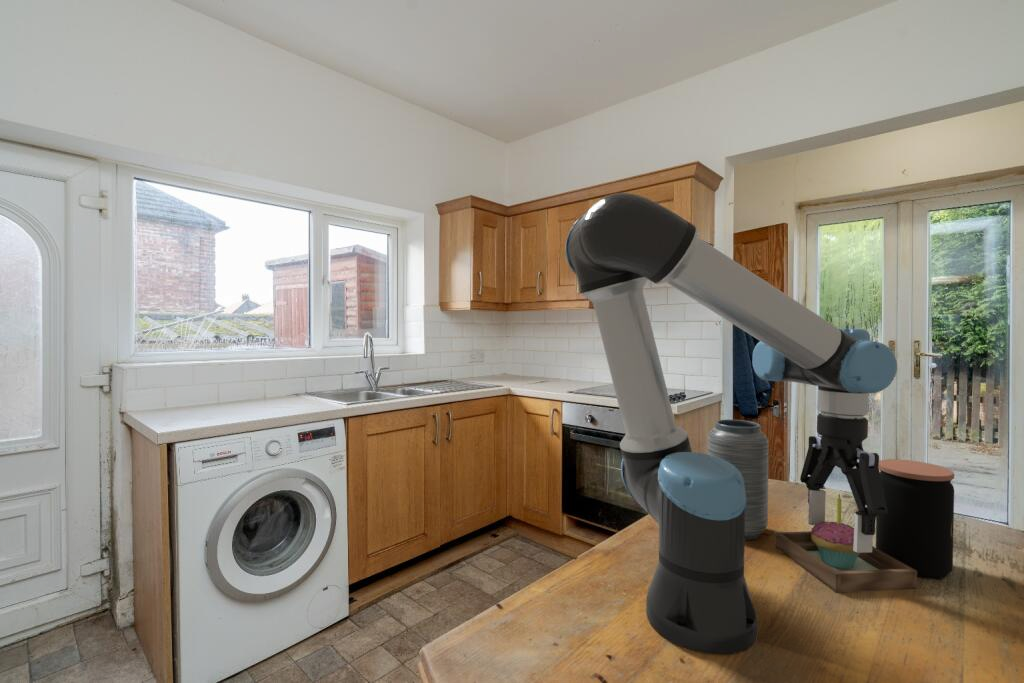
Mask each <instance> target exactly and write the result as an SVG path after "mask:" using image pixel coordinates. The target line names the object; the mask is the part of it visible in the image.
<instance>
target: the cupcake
mask: <svg viewBox="0 0 1024 683" xmlns="http://www.w3.org/2000/svg"><path fill="white" fill-rule="evenodd" d="M810 531H811V539H812V541H813V542H814V543H815V544H816V546H817V547H818V549H819V552H820V555H821V558H822V561H823V562H824V563H826V564H828V565H830V566H832V567H836V568H840V569H850V568H853V566H854V564H855V561H856V559H857V557H858V555H859V553H857V552H855V551H853V546H854V526H852V525H849V524H845V523H843V522H842V498H841V494H839V493H838V498H836V521H826V520H825V522H821V523H818V525H813V527H811V530H810ZM861 553H863V552H861Z"/></svg>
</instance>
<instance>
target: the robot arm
mask: <svg viewBox="0 0 1024 683" xmlns="http://www.w3.org/2000/svg"><path fill="white" fill-rule="evenodd" d="M564 246H565V248H564V249H565V250H564V251H565V252H564V254H565V259H566V261H567V264H568V266H569V269H571V271H572V272H573V273H574V274H575V275H576V278H577V281H578V285H579V290H580V294H581V296H582V297H584V298H585V299H586V300H589V301H590V302H591V303H592V306H593V308H594V309H593V310H594V313H595V317H596V320H597V325H598V329H599V333H600V338H601V340H602V345H603V349H604V353H605V356H606V361H607V364H608V370H609V372H610V377H611V380H612V384H613V389H614V392H615V396H616V400H617V404H618V408H619V411H620V416H621V420H622V424H623V428H624V433H625V435H624V436H623V438H622V439H621V441H620V442H619V448H620V452H621V453H620V454H621V456H622V459H621V464H620V475H621V479H622V483H623V484H624V487H625V490H626V492H627V493H628V494H629V496H630V497H631V498H632V499H633V501H635V502H636V503H637V504H638V505H640V507H642V509H643V510H644V511H645V512H646V513H647V514H648V515H650V517H651V518H652V519H653V520H654V521H655V522H656V523H657V524H658V564H657V566H656V568H655V570H654V571H655V572H654V574H653V576H652V580H651V581H650V582H651V583H650V586H649V587H648V590H647V594H646V598H645V599H646V606H645V608H646V609H645V610H646V612H645V613H646V617H647V620H648V622H649V624H650V625H651V626H652V628H653V629H655V631H656V632H657V633H659V634H660V635H661V636H663V637H664V638H665V639H667V640H668V641H670V642H672V643H673V644H676V645H678V646H680V647H683V648H686V649H687V650H692V651H695V652H700V653H703V654H711V655H733V654H737V653H741V652H744V651H747V650H749V649H750V648H752V646H754V645H755V644H756V642H757V639H758V622H759V621H758V614H757V612H756V609H755V606H754V602H753V599H752V597H751V593H750V590H749V588H748V585H747V581H746V579H745V541H746V540H745V506H746V493H745V487H744V479H743V476H742V474H741V473H740V471H739V470H738V469H737V468H736V467H735V466H734V465H732V464H731V463H729V462H727V461H725V460H723V459H721V458H718V457H711V456H710V455H708V453H707V454H706V453H703V452H702V453H701V452H696V451H695V452H694V451H693V450H692V446H691V443H690V438H689V434H688V432H687V431H686V430H685V429H683V428H682V427H680V426H679V425H677V424H676V420H675V417H674V413H673V408H672V405H671V401H670V397H669V393H668V388H667V386H666V385H667V384H666V381H665V380H666V379H665V375H664V372H663V368H662V364H661V360H660V355H659V352H658V349H657V344H656V340H655V337H654V331H653V328H652V325H651V324H652V323H651V320H650V315H649V311H648V307H647V303H646V299H645V295H644V291H643V290H644V287H645V285H646V283H647V282H648V280H649V281H651V282H652V283H654V284H655V285H659V284H663V283H667V284H669V285H670V286H671V287H673V288H674V289H676V290H678V291H680V292H681V293H683V294H684V295H686V296H688V297H689V298H691V299H692V300H695V302H697V303H699V304H700V305H702V306H704V307H705V308H707V309H709V310H710V311H712V312H713V313H715V314H716V315H718V316H719V317H722V319H725V320H726V321H727V322H729V323H730V324H732V325H734V326H735V327H737V328H739V329H740V330H742V331H743V332H745V333H747V334H748V335H750V336H751V337H753V338H754V339H756V340H757V341H758V342H757V343H756V345H755V346H754V349H753V351H752V367H753V368H752V369H753V370H754V373H755V374H756V376H757V377H758V378H759V379H761V380H763V381H768V382H769V381H770V382H776V383H780V382H792V383H798V384H803V385H804V384H805V385H810V386H816V387H817V401H816V402H817V404H816V410H818V411H819V412H820V413H819V414H818V415H816V433H817V434H818V436H817V435H816V436H815V435H811V436H808V447H807V448H808V449H807V452H806V455H805V459H804V462H803V467H802V470H801V474H800V476H799V477H800V478H799V480H800V482H801V483H802V484H803V483H804V484H805V485H806V488H807V489H808V493H807V494H808V495H807V496H808V497H807V498H808V499H807V503H808V523H807V524H808V525H810V526H815V525H818V523H821V522H825V521H826V520H825V519H826V497H827V496H826V493H827V492H826V490H825V489H826V487H825V484H826V482H827V481H828V479H829V478H830V476H831V474H832V473H833V471H834V468H835V467H837V468H839V469H840V471H841V473H842V474H843V475H845V477H846V481H847V482H848V485H849V488H850V490H851V493H852V496H853V499H854V501H855V504H856V506H857V511H855V512H854V520H853V522H854V523H853V528H854V546H853V551H855V552H857V553H861V552H872V546H873V537H874V535H876V516H877V515H887V514H888V510H887V506H886V501H885V496H884V491H883V487H882V482H881V477H880V470H879V468H878V467H879V461H880V456H879V454H878V453H877V452H869V451H865V450H864V447H863V441H864V440H866V439H868V436H869V435H868V434H869V420H868V419H867V417H865V416H867V415H868V414H869V394H876V393H879V392H880V393H881V392H882V391H884V390H885V389H887V388H888V387H889V386H890V385H891V384H892V382H893V381H894V379H895V377H896V375H897V371H898V362H897V357H896V356H895V354H894V352H893V350H892V349H891V348H890V347H889V346H888V345H886V344H884V343H882V342H879V341H872V340H871V334H870V332H869V331H868V330H866V329H864V328H838V327H837V326H835V325H834V324H832V323H831V322H829V321H828V320H826V319H824V318H823V317H821V316H820V315H819V314H817V313H815V312H814V311H812V310H811V309H809V308H808V307H806V306H805V305H803V304H801V303H800V302H799V301H797V300H795V299H794V298H793V297H791V296H789V295H787V294H786V293H785V292H784V291H781V290H780V289H778V288H777V287H775V286H774V285H772V284H771V283H769V282H768V281H766V280H765V279H763V278H762V277H760V276H758V275H756V274H755V273H754V272H752V271H750V270H749V269H747V268H746V267H745V266H743V265H742V264H740V263H738V262H737V261H735V260H734V259H732V257H729V256H727V255H726V254H725V253H723V252H721V251H720V250H719V249H717V248H716V247H714V246H712V245H710V243H708V242H706V241H705V240H703V239H701V238H700V237H699V230H698V227H697V226H695V224H692V223H691V222H690V221H688V220H687V219H685V218H683V217H682V216H681V215H680V214H677V213H675V212H674V211H672V210H670V209H669V208H667V207H665V206H663V205H661V204H659V203H658V202H656V201H653V199H652V200H651V199H649V198H648V197H644V196H641V195H639V194H634V193H630V192H616V193H611V194H608V195H605V196H604V197H602V198H599V200H597V201H596V202H594V204H592V205H591V206H590V208H589V209H588V210H587V211H586V213H584V214H583V215H582V216H580V217H579V218H578V219H577V220H576V221H575V222H574V223H573V224H572V227H571V228H570V230H569V232H568V235H567V237H566V240H565V245H564Z"/></svg>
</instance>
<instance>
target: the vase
mask: <svg viewBox="0 0 1024 683" xmlns="http://www.w3.org/2000/svg"><path fill="white" fill-rule="evenodd" d="M769 444H770V443H769V438H768V436H767V435H766V434H765V432H763V431H762V427H761V424H759V423H758V422H754V421H750V420H742V419H718V420H716V421H715V422H714V427H713V428H712V429H711V430H710V431H709V432H708V434H707V455H710V456H711V457H718V458H721V459H723V460H725V461H727V462H729V463H731V464H732V465H734V466H735V467H736V468H737V469H738V470H739V471H740V473H741V474H742V476H743V479H744V487H745V493H746V506H745V540H744V541H747V540H754V539H757V538H759V537H760V534H762V533H763V532H764V531H765V530H766V529H767V526H768V524H769V523H768V522H769V521H768V520H769V519H768V518H769V450H770V449H769V448H770V447H769Z"/></svg>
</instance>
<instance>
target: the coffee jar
mask: <svg viewBox="0 0 1024 683" xmlns="http://www.w3.org/2000/svg"><path fill="white" fill-rule="evenodd" d="M878 468H879V473H880V477H881V482H882V487H883V491H884V496H885V501H886V506H887V510H888V514H887V515H877V516H876V519H875V548H877V549H878V550H880V551H882V552H884V553H886V554H887V555H889V556H891V557H893V558H895V559H896V560H898V561H900V562H902V563H904V564H905V565H907V566H909V567H911V568H913V569H914V570H916V571H917V579H918V578H919V579H925V580H941V579H945V578H946V577H948V576H949V575H950V574H951V573H952V572H953V568H954V567H953V565H954V564H953V563H954V524H955V522H954V521H955V518H954V516H955V511H954V510H955V487H954V485H953V484H952V481H953V480H954V479H955V473H954V471H953V470H951V469H949V468H947V467H944V466H942V465H938V464H932V463H928V462H925V461H924V462H923V461H917V460H911V459H910V460H908V459H897V458H896V459H890V458H889V459H879V467H878Z"/></svg>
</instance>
